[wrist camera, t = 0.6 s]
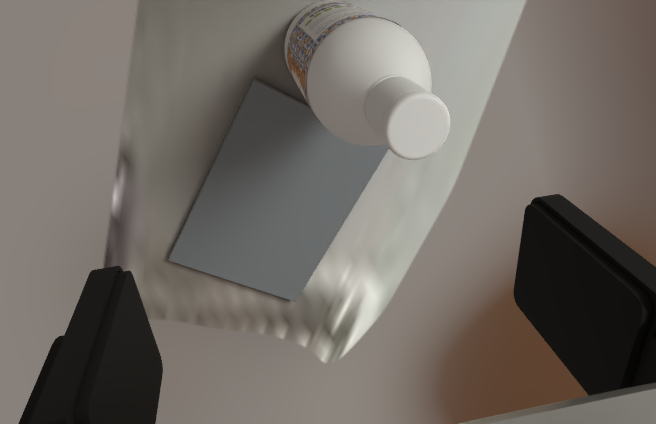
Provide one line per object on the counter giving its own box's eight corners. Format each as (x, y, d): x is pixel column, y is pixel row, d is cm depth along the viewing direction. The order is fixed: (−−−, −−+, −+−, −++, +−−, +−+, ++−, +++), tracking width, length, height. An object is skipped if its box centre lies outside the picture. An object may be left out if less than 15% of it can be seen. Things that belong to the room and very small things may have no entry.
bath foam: (264, 42, 37) (303, 122, 19) (335, -22, 36) (444, 2, 18) (321, 110, 40) (398, 231, 23) (388, 53, 39) (522, 134, 22)
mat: (253, 77, 38) (254, 80, 37) (386, 144, 43) (389, 147, 42) (168, 255, 44) (168, 260, 43) (294, 296, 48) (295, 302, 48)
